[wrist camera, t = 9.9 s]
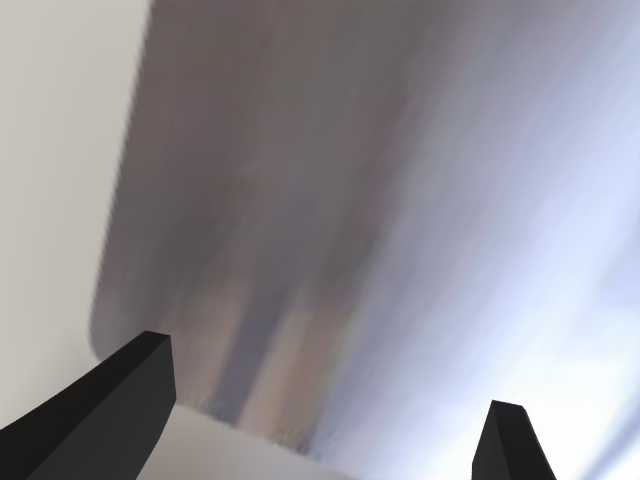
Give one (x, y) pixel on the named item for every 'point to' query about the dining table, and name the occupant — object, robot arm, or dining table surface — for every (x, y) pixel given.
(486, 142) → the dining table surface
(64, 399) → the robot arm
